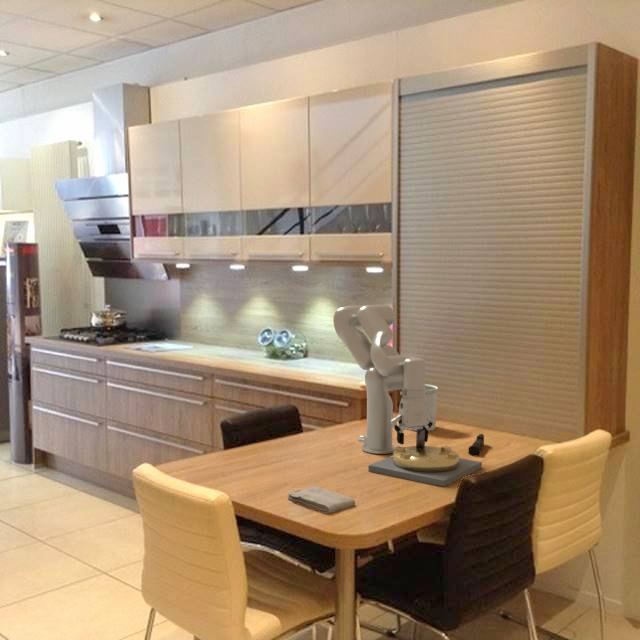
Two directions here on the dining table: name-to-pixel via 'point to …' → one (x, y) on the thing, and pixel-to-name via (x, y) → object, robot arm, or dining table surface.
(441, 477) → the base plate
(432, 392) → the utensil holder
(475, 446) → the hand tool
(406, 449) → the beige piece
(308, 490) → the washcloth
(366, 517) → the dining table surface
